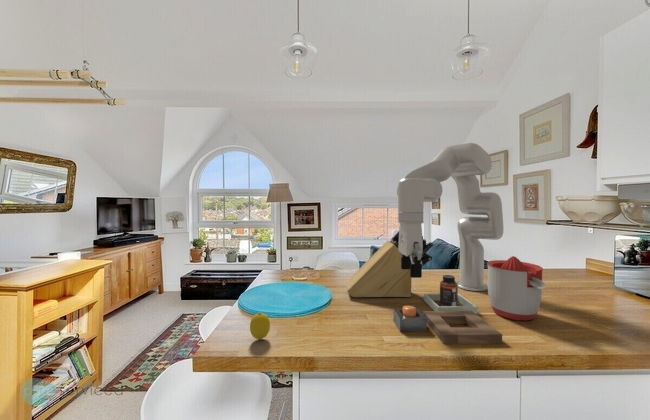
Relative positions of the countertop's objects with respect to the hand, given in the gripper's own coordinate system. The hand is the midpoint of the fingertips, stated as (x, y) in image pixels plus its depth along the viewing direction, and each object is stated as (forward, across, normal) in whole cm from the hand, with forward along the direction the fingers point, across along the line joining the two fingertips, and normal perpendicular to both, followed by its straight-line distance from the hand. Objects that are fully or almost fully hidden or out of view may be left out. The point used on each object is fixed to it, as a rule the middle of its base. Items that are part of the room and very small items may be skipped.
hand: (410, 273), depth 85 cm
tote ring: (+17, -15, +19) cm, 29 cm away
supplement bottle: (+17, -15, +19) cm, 29 cm away
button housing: (+17, 0, 0) cm, 17 cm away
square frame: (+17, +3, +14) cm, 22 cm away
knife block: (+17, -30, 0) cm, 34 cm away
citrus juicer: (+17, -7, +38) cm, 42 cm away
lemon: (+17, +8, -45) cm, 49 cm away
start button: (+15, 0, 0) cm, 15 cm away
